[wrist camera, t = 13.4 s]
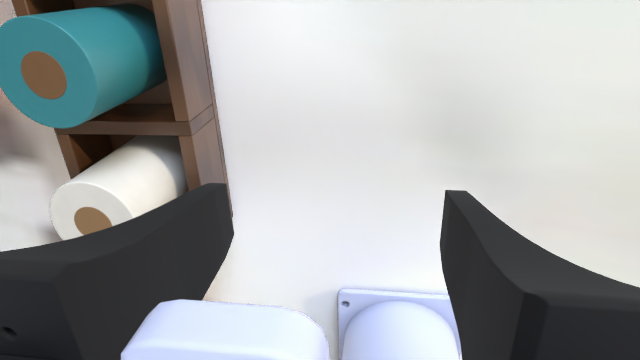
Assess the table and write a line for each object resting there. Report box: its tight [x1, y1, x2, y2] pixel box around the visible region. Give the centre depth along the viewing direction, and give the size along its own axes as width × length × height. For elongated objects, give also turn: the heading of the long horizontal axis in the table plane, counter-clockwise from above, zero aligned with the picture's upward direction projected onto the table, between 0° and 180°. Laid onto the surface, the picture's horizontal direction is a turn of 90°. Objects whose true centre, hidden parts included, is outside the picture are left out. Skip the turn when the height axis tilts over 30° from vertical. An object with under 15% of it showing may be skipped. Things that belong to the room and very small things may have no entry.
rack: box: [12, 0, 233, 217], centre depth 20 cm, size 20×7×4 cm, turn 2°
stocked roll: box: [49, 135, 189, 241], centre depth 22 cm, size 4×4×6 cm
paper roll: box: [0, 3, 167, 129], centre depth 19 cm, size 4×4×6 cm
